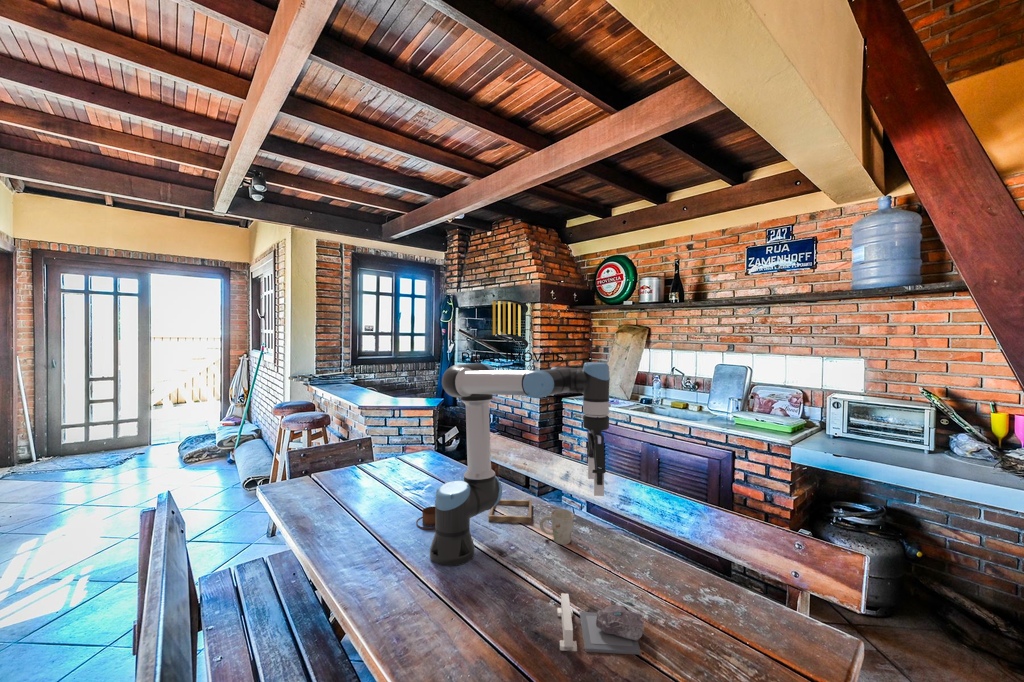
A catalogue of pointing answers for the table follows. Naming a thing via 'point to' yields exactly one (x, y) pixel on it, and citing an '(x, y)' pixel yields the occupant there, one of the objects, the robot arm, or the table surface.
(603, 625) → the rock
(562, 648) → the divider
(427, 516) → the cup and saucer
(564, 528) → the mug
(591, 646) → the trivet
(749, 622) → the table surface
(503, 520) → the wooden frame
